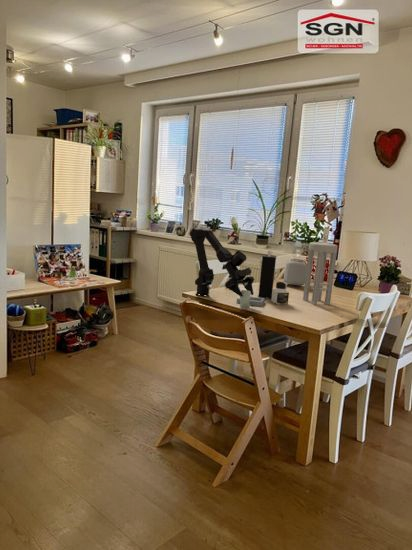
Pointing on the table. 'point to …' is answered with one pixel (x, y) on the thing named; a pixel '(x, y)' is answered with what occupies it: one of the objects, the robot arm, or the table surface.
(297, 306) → the table surface
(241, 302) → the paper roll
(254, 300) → the clip cradle
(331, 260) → the stool
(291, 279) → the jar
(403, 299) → the table surface
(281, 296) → the medicine bottle
